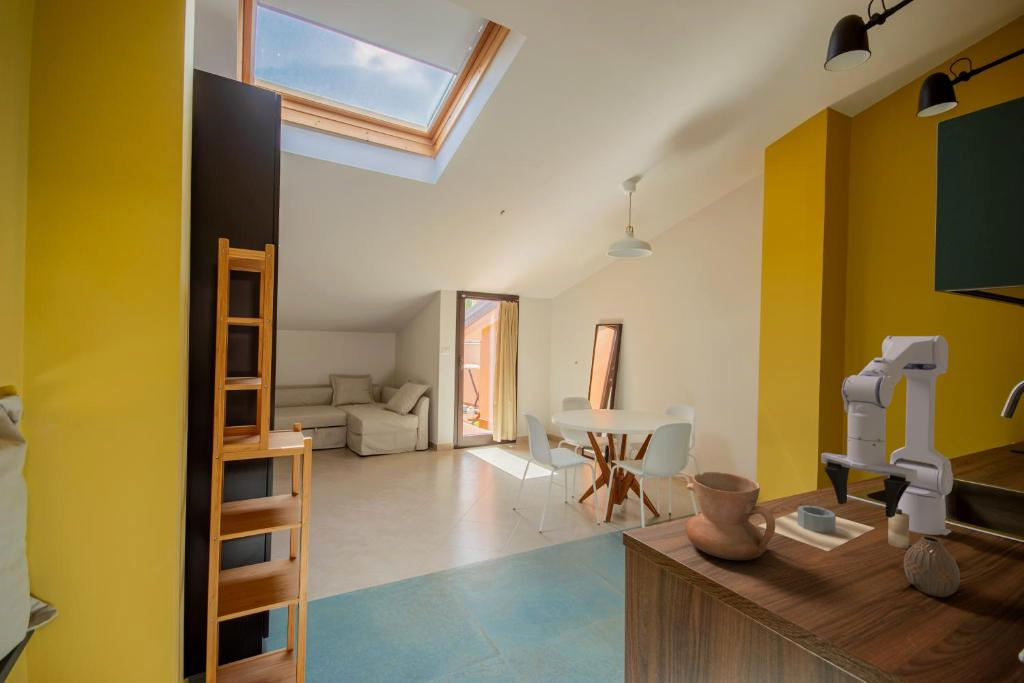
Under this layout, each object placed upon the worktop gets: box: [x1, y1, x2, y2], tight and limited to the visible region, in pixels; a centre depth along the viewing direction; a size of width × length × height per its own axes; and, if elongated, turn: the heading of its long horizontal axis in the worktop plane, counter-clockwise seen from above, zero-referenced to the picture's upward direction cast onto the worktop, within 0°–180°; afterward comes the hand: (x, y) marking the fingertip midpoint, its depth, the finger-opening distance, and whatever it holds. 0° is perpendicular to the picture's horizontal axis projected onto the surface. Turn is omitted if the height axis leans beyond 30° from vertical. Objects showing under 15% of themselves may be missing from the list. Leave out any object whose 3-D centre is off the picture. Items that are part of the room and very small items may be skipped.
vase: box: [903, 535, 961, 598], centre depth 75 cm, size 7×7×9 cm
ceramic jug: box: [685, 471, 775, 561], centre depth 88 cm, size 18×14×14 cm
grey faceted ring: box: [797, 505, 837, 533], centre depth 99 cm, size 7×7×4 cm
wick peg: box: [887, 508, 910, 550], centre depth 91 cm, size 3×3×8 cm
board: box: [757, 510, 876, 552], centre depth 99 cm, size 22×14×1 cm, turn 122°
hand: (865, 509), depth 85 cm, fingers open, 7 cm apart
